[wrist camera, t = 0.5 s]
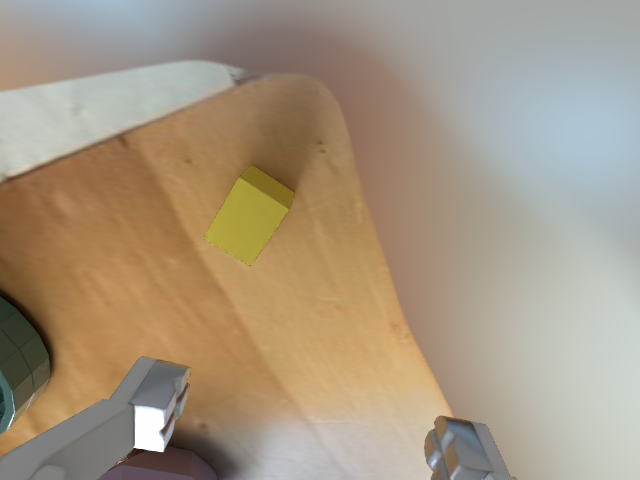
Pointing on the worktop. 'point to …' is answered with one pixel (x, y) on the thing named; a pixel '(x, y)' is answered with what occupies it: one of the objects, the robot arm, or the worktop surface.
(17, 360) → the bowl
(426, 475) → the worktop surface
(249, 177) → the yellow block
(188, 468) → the flask
